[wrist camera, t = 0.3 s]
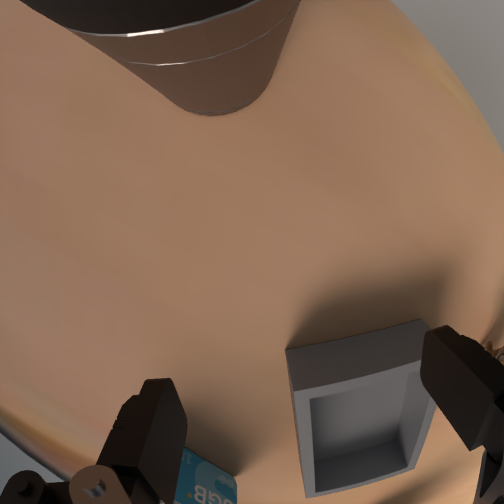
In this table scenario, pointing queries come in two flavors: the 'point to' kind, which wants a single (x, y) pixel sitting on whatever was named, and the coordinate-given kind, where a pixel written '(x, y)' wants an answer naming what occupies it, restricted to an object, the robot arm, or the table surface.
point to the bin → (359, 407)
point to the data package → (203, 482)
